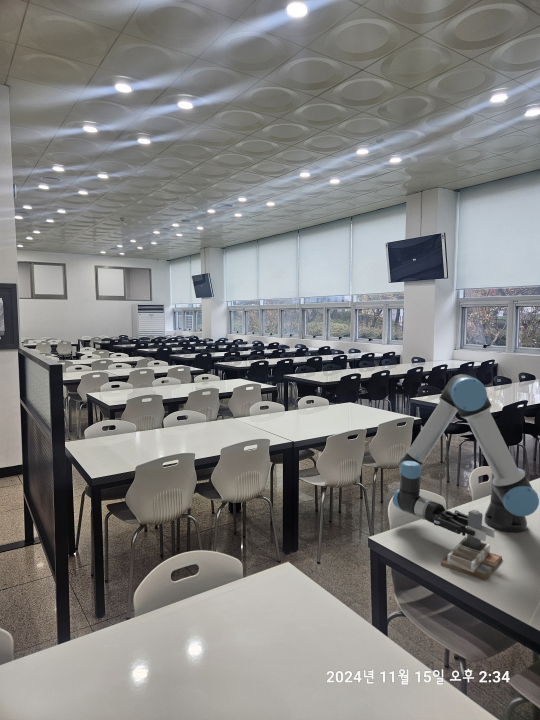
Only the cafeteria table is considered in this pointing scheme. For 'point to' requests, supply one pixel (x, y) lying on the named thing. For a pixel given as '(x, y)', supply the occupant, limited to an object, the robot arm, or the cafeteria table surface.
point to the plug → (476, 523)
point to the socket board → (472, 560)
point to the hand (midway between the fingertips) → (489, 535)
